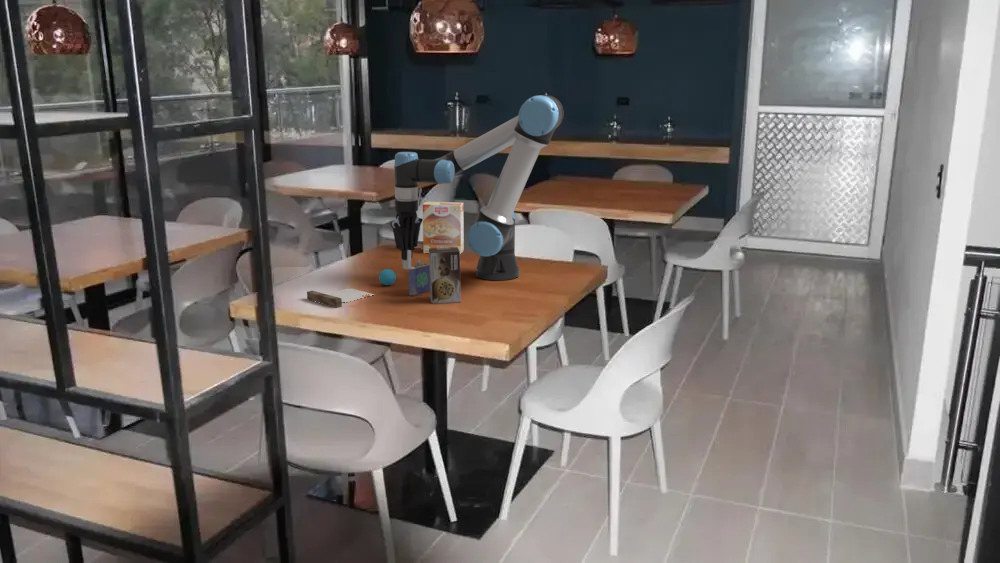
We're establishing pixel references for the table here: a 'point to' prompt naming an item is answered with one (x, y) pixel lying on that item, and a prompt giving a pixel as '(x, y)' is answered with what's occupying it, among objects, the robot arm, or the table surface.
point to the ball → (387, 277)
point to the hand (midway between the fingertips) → (407, 268)
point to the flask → (419, 279)
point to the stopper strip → (324, 298)
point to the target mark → (349, 294)
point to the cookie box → (444, 275)
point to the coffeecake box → (443, 225)
